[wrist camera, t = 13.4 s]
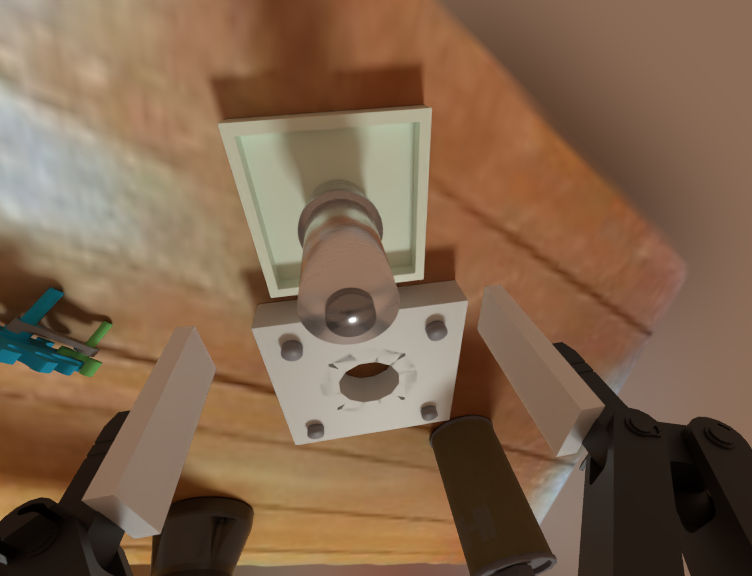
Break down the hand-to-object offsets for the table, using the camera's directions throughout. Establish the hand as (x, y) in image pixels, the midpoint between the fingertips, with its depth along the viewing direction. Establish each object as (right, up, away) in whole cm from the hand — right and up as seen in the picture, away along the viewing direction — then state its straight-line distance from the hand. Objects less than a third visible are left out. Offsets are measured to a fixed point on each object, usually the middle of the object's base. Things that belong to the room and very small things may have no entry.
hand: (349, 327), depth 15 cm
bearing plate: (0, -7, +23) cm, 24 cm away
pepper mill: (-2, +8, +11) cm, 14 cm away
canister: (+15, -22, +37) cm, 45 cm away
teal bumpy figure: (-28, 0, +14) cm, 31 cm away
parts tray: (-2, +9, +12) cm, 15 cm away
